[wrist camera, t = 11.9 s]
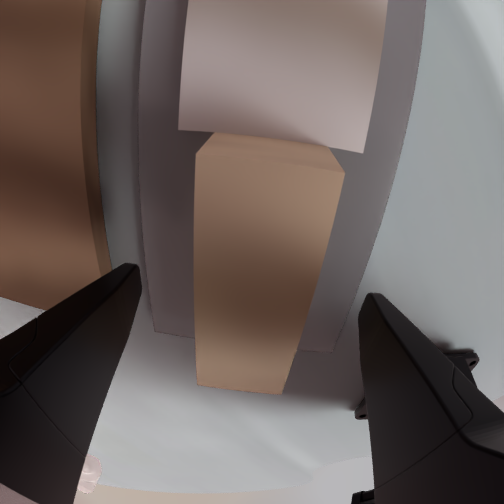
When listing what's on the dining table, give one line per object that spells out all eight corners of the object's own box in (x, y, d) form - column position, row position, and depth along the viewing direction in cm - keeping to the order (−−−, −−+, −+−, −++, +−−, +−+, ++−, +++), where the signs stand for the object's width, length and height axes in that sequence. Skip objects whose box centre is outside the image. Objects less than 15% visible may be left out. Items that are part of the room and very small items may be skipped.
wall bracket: (-30, 353, 33) (102, 458, 37) (-49, 384, 28) (85, 492, 32) (-48, 334, 26) (108, 462, 30) (-72, 370, 21) (87, 503, 25)
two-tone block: (304, 336, 13) (308, 396, 10) (186, 322, 13) (170, 380, 10) (383, -59, 5) (422, -95, 2) (209, -82, 5) (185, -129, 2)
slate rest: (329, 339, 14) (331, 352, 13) (159, 319, 14) (154, 331, 13) (418, -58, 5) (427, -64, 4) (172, -91, 5) (165, -100, 4)
